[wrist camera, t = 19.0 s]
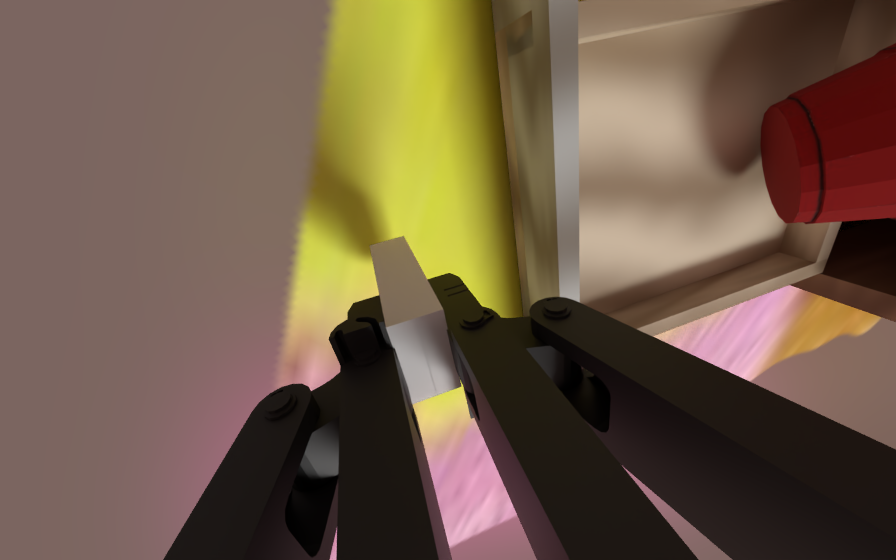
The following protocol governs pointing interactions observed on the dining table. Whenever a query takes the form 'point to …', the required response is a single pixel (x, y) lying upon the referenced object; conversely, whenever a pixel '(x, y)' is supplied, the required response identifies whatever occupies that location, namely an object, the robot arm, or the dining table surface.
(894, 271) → the block
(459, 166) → the dining table surface
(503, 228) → the dining table surface
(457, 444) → the dining table surface
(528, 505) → the robot arm
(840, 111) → the plastic cup
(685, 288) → the tray
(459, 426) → the dining table surface
